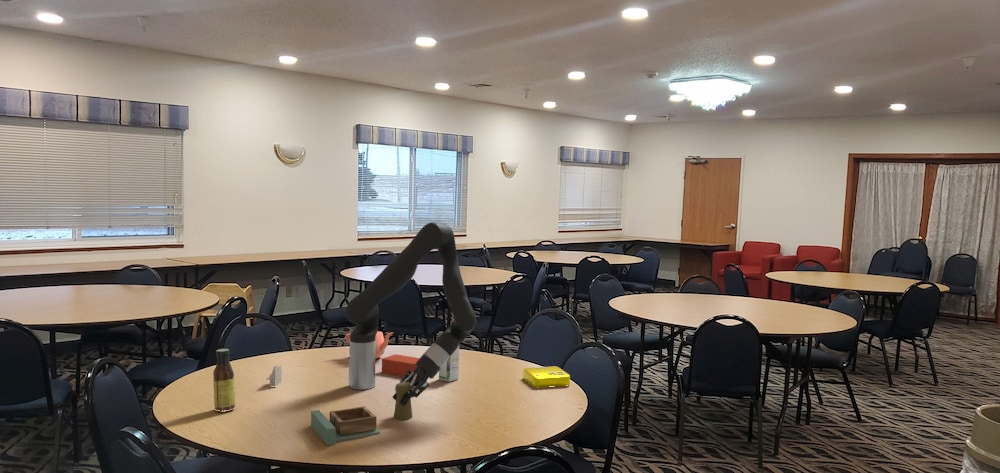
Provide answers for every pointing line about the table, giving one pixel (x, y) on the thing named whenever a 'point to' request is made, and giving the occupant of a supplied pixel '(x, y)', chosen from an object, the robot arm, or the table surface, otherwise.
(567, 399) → the table surface
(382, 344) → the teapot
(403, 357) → the brick
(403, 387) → the olive knob
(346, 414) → the wooden tray
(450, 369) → the syrup box
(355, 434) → the track and backstop
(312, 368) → the table surface
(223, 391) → the sauce bottle
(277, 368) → the architectural model
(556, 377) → the element tile
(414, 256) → the robot arm
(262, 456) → the table surface
